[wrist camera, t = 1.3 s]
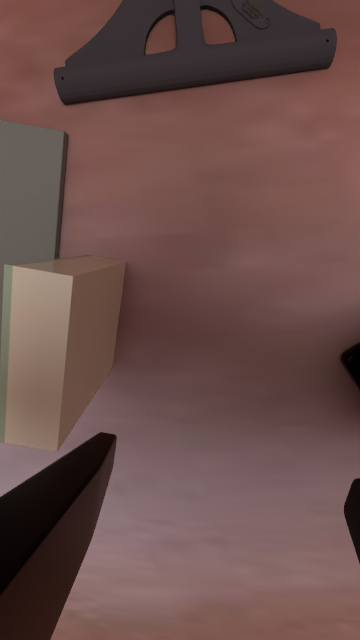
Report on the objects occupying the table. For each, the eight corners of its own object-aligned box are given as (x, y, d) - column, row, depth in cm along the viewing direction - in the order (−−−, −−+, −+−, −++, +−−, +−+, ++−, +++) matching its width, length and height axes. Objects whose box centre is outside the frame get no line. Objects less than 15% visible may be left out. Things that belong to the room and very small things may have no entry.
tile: (126, 262, 20) (73, 276, 11) (112, 366, 21) (57, 451, 13) (87, 255, 20) (4, 263, 11) (77, 360, 21) (-4, 441, 13)
